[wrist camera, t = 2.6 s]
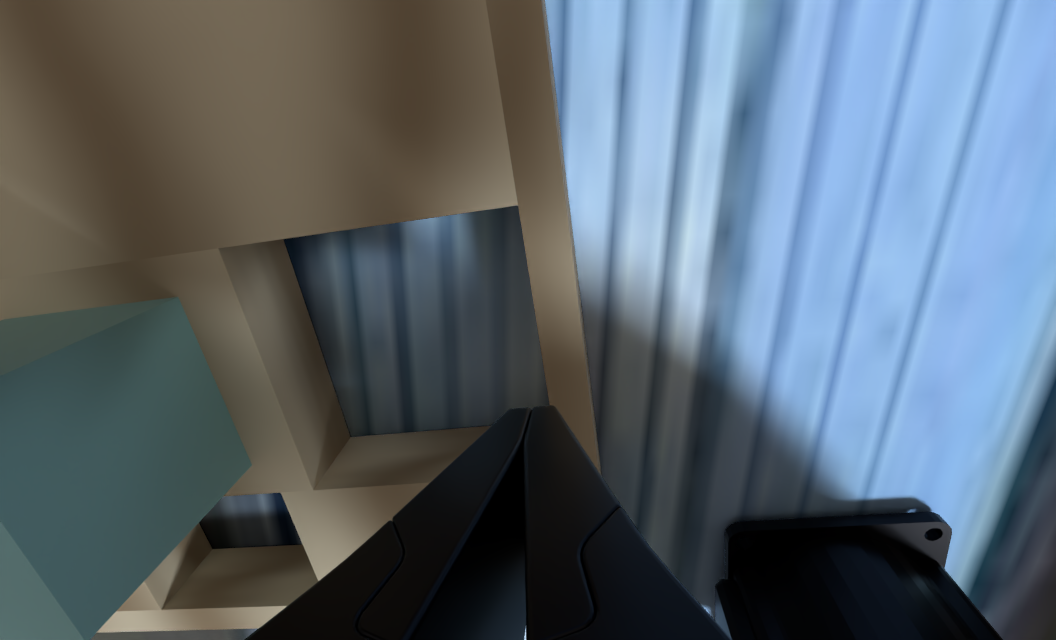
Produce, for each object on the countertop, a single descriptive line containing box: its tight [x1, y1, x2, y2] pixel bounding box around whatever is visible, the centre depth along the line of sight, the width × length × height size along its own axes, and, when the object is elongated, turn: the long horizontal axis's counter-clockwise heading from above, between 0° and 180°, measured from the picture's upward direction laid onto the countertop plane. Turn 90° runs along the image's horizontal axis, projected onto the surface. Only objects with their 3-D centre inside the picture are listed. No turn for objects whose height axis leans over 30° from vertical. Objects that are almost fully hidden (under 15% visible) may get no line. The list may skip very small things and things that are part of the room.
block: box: [0, 297, 252, 640], centre depth 11 cm, size 5×5×5 cm
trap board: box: [0, 0, 602, 632], centre depth 13 cm, size 26×18×6 cm
